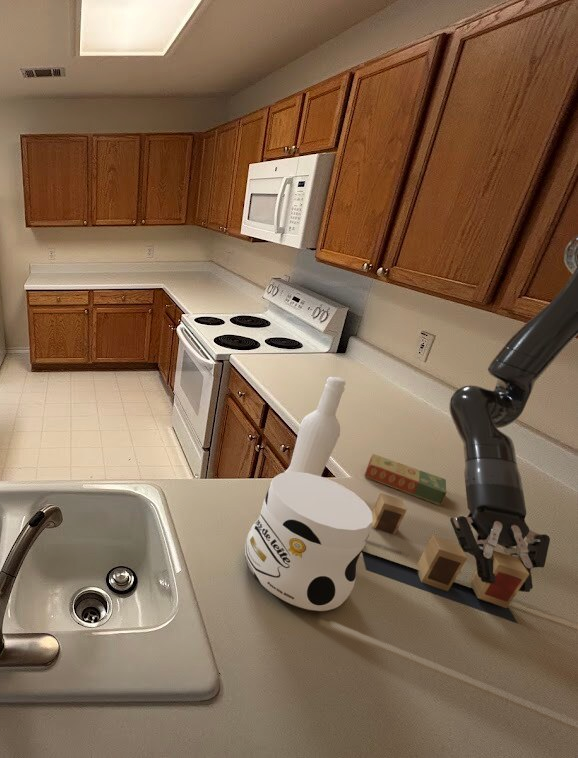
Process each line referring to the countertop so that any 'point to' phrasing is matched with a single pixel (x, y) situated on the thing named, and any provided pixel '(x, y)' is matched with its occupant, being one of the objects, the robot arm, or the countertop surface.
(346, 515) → the milk container
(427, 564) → the brown panel wooden block
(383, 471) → the carton
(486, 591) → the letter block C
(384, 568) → the word mat
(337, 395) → the bottle
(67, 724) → the countertop surface
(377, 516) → the tan wooden block
